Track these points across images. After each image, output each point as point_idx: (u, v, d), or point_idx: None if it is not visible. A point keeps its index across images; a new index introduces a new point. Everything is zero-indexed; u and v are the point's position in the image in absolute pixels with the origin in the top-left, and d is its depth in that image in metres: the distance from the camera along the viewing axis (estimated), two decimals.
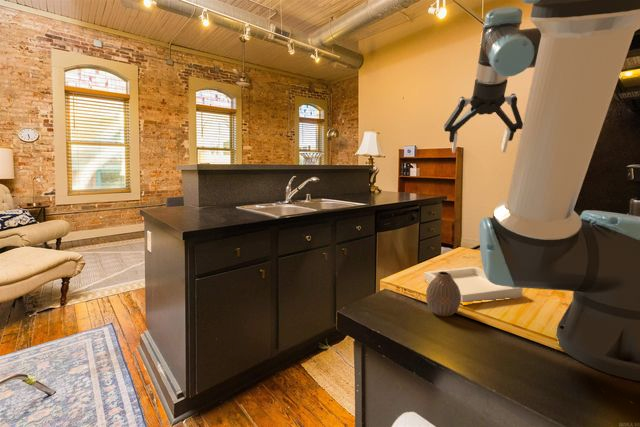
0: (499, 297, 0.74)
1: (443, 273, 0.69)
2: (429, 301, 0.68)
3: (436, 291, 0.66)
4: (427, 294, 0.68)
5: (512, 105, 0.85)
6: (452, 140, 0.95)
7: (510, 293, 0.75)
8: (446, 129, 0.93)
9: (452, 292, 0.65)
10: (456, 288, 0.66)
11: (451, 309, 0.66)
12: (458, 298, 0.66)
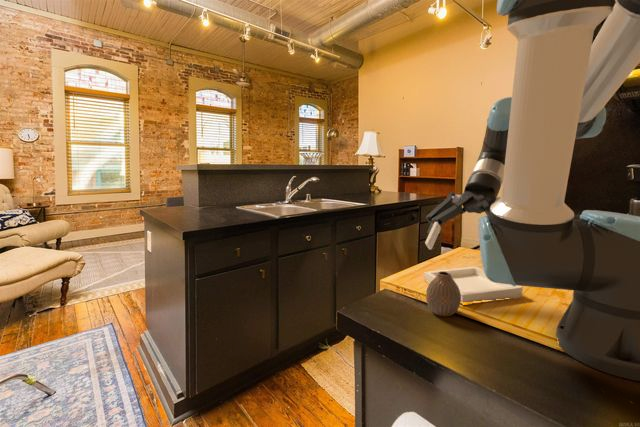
0: (499, 297, 0.74)
1: (443, 273, 0.69)
2: (429, 301, 0.68)
3: (436, 290, 0.66)
4: (427, 294, 0.68)
5: None
6: (430, 231, 0.80)
7: (510, 293, 0.75)
8: (428, 216, 0.82)
9: (452, 291, 0.65)
10: (456, 288, 0.66)
11: (451, 309, 0.66)
12: (458, 298, 0.66)
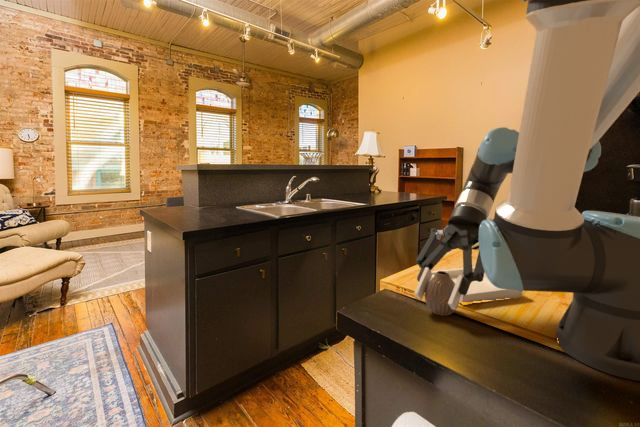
0: (499, 297, 0.74)
1: (442, 273, 0.69)
2: (427, 301, 0.68)
3: (434, 290, 0.67)
4: (426, 293, 0.69)
5: None
6: (420, 278, 0.71)
7: (510, 293, 0.75)
8: (417, 259, 0.73)
9: (450, 291, 0.66)
10: None
11: (449, 309, 0.66)
12: None
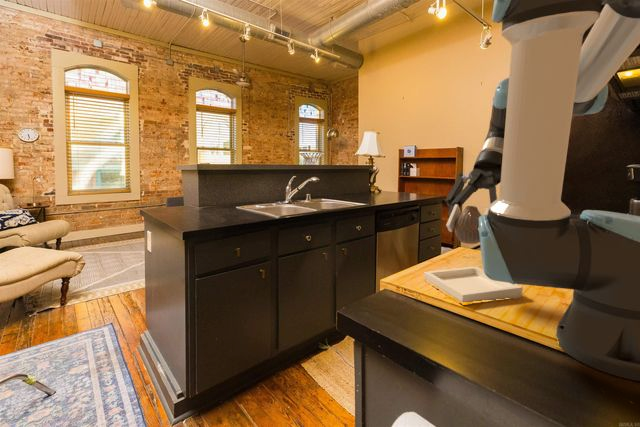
0: (499, 297, 0.74)
1: None
2: (458, 231, 0.77)
3: (465, 221, 0.76)
4: (456, 226, 0.78)
5: None
6: (450, 213, 0.80)
7: (510, 293, 0.75)
8: (447, 199, 0.83)
9: None
10: None
11: (478, 236, 0.75)
12: None
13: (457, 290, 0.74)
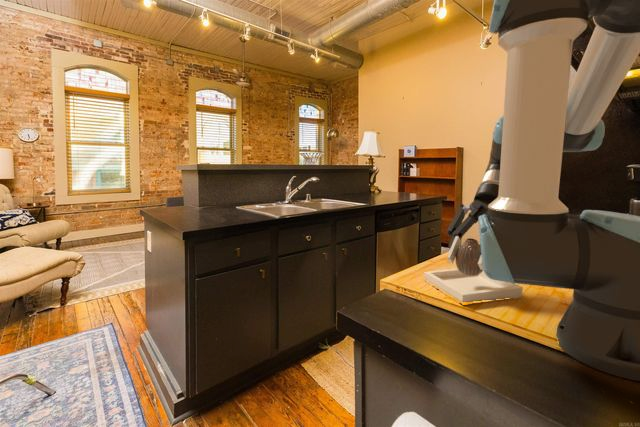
0: (499, 297, 0.74)
1: (470, 240, 0.81)
2: (458, 263, 0.80)
3: (465, 254, 0.78)
4: (457, 257, 0.80)
5: None
6: (451, 245, 0.82)
7: (510, 293, 0.75)
8: (448, 230, 0.85)
9: (479, 254, 0.77)
10: None
11: (478, 269, 0.77)
12: None
13: (457, 290, 0.74)
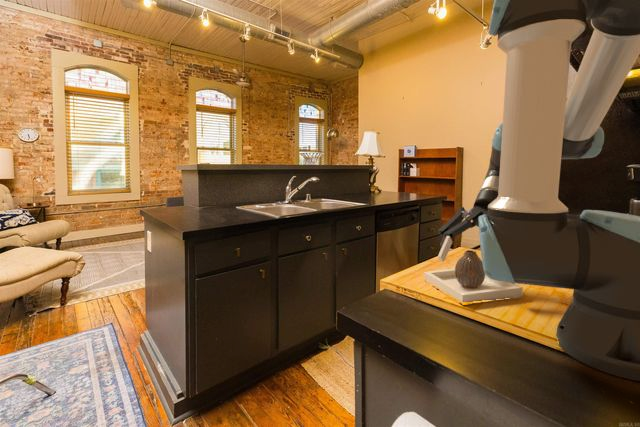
0: (499, 297, 0.74)
1: (469, 252, 0.81)
2: (458, 275, 0.80)
3: (464, 265, 0.78)
4: (456, 269, 0.81)
5: None
6: (442, 244, 0.85)
7: (510, 293, 0.75)
8: (440, 230, 0.88)
9: (478, 266, 0.78)
10: (481, 263, 0.78)
11: (478, 281, 0.78)
12: (483, 272, 0.78)
13: (457, 290, 0.74)
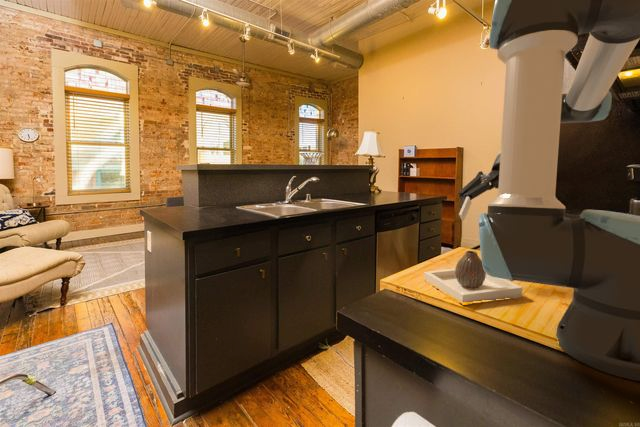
0: (499, 297, 0.74)
1: (470, 252, 0.81)
2: (458, 276, 0.80)
3: (465, 266, 0.78)
4: (456, 270, 0.80)
5: None
6: (462, 204, 0.92)
7: (510, 293, 0.75)
8: (459, 192, 0.95)
9: (478, 267, 0.77)
10: None
11: (478, 282, 0.78)
12: (484, 273, 0.78)
13: (457, 290, 0.74)
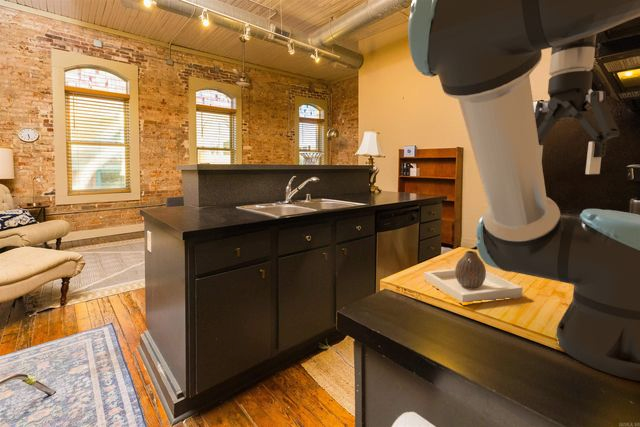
0: (499, 297, 0.74)
1: (470, 252, 0.81)
2: (458, 276, 0.80)
3: (465, 266, 0.78)
4: (456, 270, 0.80)
5: (591, 102, 0.64)
6: None
7: (510, 293, 0.75)
8: None
9: (478, 267, 0.77)
10: (482, 264, 0.78)
11: (478, 282, 0.78)
12: (484, 273, 0.78)
13: (457, 290, 0.74)
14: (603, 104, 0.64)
